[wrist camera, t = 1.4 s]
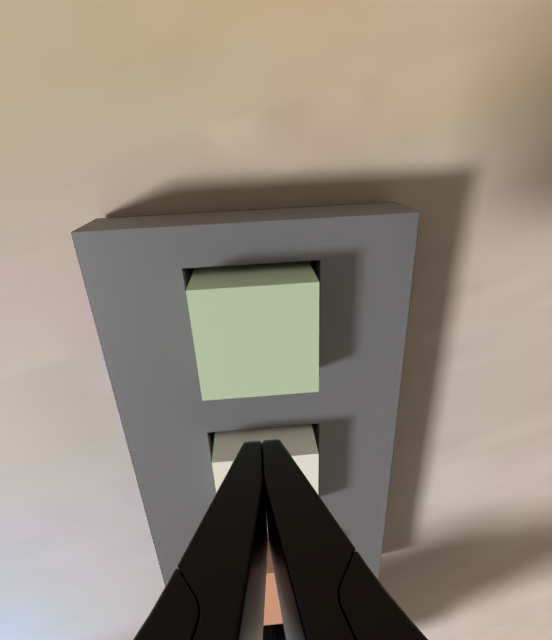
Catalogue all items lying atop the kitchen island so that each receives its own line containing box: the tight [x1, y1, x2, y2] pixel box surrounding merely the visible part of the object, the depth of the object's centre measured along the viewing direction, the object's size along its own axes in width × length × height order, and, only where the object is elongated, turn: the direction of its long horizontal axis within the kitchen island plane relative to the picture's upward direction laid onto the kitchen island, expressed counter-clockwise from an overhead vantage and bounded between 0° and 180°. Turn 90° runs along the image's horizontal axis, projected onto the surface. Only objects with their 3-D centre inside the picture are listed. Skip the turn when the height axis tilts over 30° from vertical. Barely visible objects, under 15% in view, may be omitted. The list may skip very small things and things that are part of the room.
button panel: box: [71, 202, 420, 587], centre depth 19 cm, size 23×12×2 cm, turn 2°
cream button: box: [212, 424, 319, 531], centre depth 18 cm, size 4×4×2 cm
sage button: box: [186, 261, 319, 401], centre depth 15 cm, size 4×4×2 cm
